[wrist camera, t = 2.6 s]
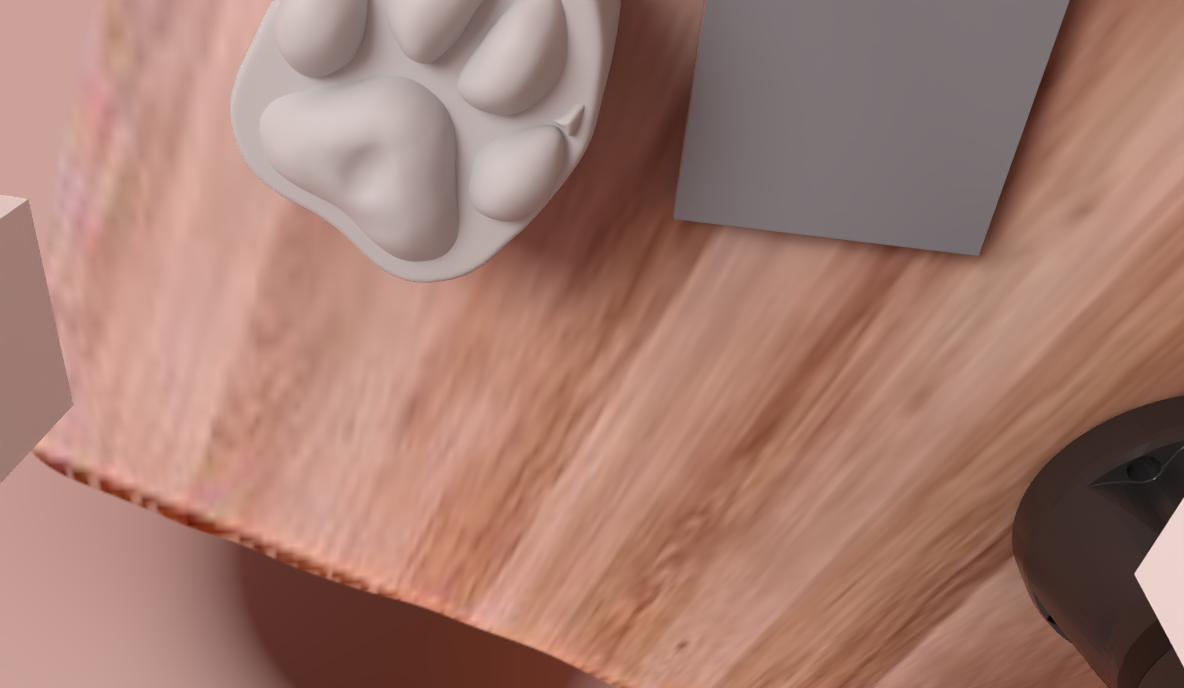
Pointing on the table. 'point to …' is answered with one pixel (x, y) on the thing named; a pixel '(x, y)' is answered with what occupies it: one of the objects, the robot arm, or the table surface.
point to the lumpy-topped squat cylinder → (423, 118)
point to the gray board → (861, 116)
